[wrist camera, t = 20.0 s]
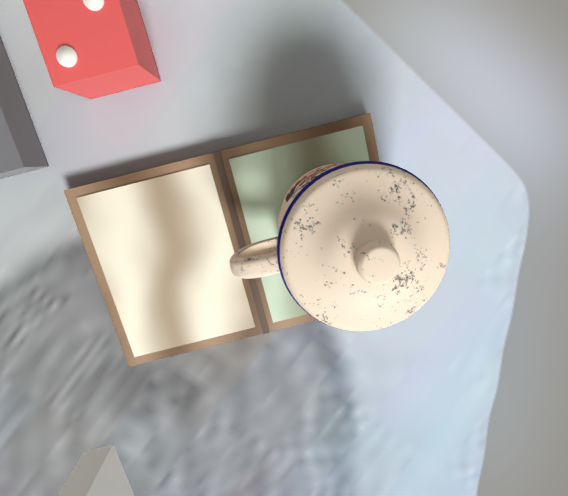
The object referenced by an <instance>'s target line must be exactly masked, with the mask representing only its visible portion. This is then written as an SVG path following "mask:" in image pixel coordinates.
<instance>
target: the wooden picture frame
mask: <svg viewBox="0 0 568 496" xmlns="http://www.w3.org/2000/svg"><path fill="white" fill-rule="evenodd" d="M357 161H377V162H379V157H378V152H377V146H376V141H375V136H374V130H373V125H372V120H371V114H370V113H368V114H364V115H360V116H356V117H352V118H348V119H344V120H340V121H336V122H332V123H328V124H324V125H320V126H316V127H312V128H308V129H304V130H301V131H297V132H293V133H289V134H285V135H281V136H277V137H273V138H269V139H265V140H261V141H257V142H253V143H249V144H245V145H241V146H237V147H233V148H229V149H226V150H222V151H217V152H213V153H210V154H206V155H202V156H198V157H194V158H190V159H186V160H182V161H178V162H174V163H170V164H166V165H162V166H158V167H154V168H151V169H147V170H143V171H139V172H135V173H131V174H127V175H123V176H119V177H115V178H111V179H107V180H103V181H99V182H95V183H91V184H87V185H83V186H79V187H75V188H72V189H68V190H64V193H65V195H66V198H67V201H68V203H69V206H70V209H71V211H72V214H73V217H74V220H75V222H76V225H77V228H78V230H79V233H80V236H81V238H82V241H83V244H84V247H85V249H86V252H87V255H88V257H89V260H90V263H91V265H92V268H93V271H94V273H95V276H96V279H97V282H98V284H99V287H100V290H101V292H102V295H103V298H104V300H105V303H106V306H107V309H108V311H109V314H110V317H111V319H112V322H113V325H114V327H115V330H116V333H117V336H118V338H119V341H120V344H121V346H122V349H123V352H124V354H125V357H126V360H127V363H128V365H129V367H130V366H134V365H138V364H142V363H146V362H150V361H154V360H158V359H162V358H166V357H170V356H174V355H178V354H182V353H186V352H190V351H194V350H198V349H202V348H206V347H210V346H214V345H218V344H222V343H227V342H231V341H235V340H239V339H243V338H247V337H251V336H255V335H259V334H265V333H269V332H271V331H275V330H279V329H283V328H287V327H291V326H295V325H299V324H303V323H307V322H311V321H315V320H317V319H315V318H314V317H312V316H311V315H309V314H308V313H307V312H305V311H304V310H303V309H302V308H301V307H300V306H299V305H298V304H297V303H296V302H295V300H294V299H293V298H292V296H291V295H290V293H289V292H288V290H287V288H286V286H285V284H284V282H283V280H282V277H281V274H280V273H277V274H273V275H269V276H265V277H260V278H251V279H244V278H238V277H236V276H234V275H233V273H232V271H231V268H230V258H231V257H232V255H233V254H234V253H235V252H237V251H238V250H240V249H242V248H243V247H245V246H248V245H250V244H253V243H255V242H258V241H262V240H265V239H269V238H273V237H277V236H278V231H277V219H278V213H279V209H280V205H281V203H282V200H283V198H284V196H285V195H286V193H287V191H288V190H289V188H290V187H291V186H292V185H293V184H294V183H295V182H296V181H297V180H298V179H299V178H300V177H301V176H303V175H304V174H306V173H307V172H309V171H311V170H313V169H315V168H317V167H320V166H324V165H328V164H346V163H351V162H357Z"/></svg>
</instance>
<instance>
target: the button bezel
mask: <svg viewBox="0 0 568 496" xmlns="http://www.w3.org/2000/svg"><path fill="white" fill-rule="evenodd" d="M44 167H48V163H47V160H46V158H45V155H44V152H43V150H42V147H41V144H40V142H39V139H38V136H37V134H36V131H35V128H34V126H33V123H32V120H31V118H30V115H29V112H28V110H27V107H26V104H25V102H24V99H23V96H22V94H21V91H20V88H19V85H18V83H17V80H16V77H15V75H14V72H13V69H12V67H11V64H10V61H9V59H8V56H7V53H6V51H5V48H4V45H3V43H2V40H1V37H0V179H1V178H5V177H9V176H13V175H17V174H21V173H25V172H29V171H32V170H36V169H40V168H44Z"/></svg>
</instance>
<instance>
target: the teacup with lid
mask: <svg viewBox="0 0 568 496" xmlns="http://www.w3.org/2000/svg"><path fill="white" fill-rule="evenodd" d="M277 231H278V236H277V237H273V238H269V239H265V240H262V241H258V242H255V243H253V244H250V245H248V246H245V247H243V248H242V249H240V250H238V251H237V252H235V253H234V254H233V255H232V257H231V258H230V268H231V271H232V273H233V275H234V276H236V277H238V278H244V279H251V278H260V277H265V276H269V275H273V274H277V273H280V274H281V277H282V280H283V282H284V284H285V286H286V288H287V290H288V292H289V293H290V295H291V296H292V298H293V299H294V300H295V302H296V303H297V304H298V305H299V306H300V307H301V308H302V309H303V310H304V311H305V312H307V313H308V314H309V315H311V316H312V317H314V318H315V319H317V320H319V321H321V322H323V323H325V324H328V325H330V326H333V327H336V328H339V329H344V330H350V331H370V330H377V329H381V328H385V327H388V326H391V325H394V324H396V323H398V322H400V321H402V320H404V319H406V318H407V317H409V316H411V315H412V314H413V313H415V312H416V311H417V310H418V309H420V308H421V307H422V306H423V305H424V304H425V303H426V302H427V301H428V300H429V298H430V297H431V296H432V295H433V293H434V292H435V290H436V289H437V287H438V285H439V283H440V282H441V280H442V277H443V275H444V273H445V270H446V266H447V263H448V258H449V251H450V235H449V228H448V223H447V220H446V217H445V214H444V212H443V209H442V207H441V205H440V203H439V201H438V199H437V198H436V196H435V195H434V194H433V192H432V191H431V190H430V189H429V187H428V186H427V185H426V184H425V183H424V182H422V181H421V180H420V179H419V178H418V177H416V176H415V175H413V174H412V173H410V172H408V171H407V170H405V169H402V168H400V167H398V166H395V165H392V164H388V163H384V162H377V161H357V162H351V163H346V164H328V165H324V166H320V167H317V168H315V169H313V170H311V171H309V172H307V173H306V174H304V175H303V176H301V177H300V178H299V179H298V180H297V181H296V182H295V183H294V184H293V185H292V186H291V187H290V188H289V190H288V191H287V193H286V195H285V196H284V198H283V200H282V203H281V205H280V209H279V213H278V219H277Z"/></svg>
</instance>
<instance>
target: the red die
mask: <svg viewBox="0 0 568 496" xmlns="http://www.w3.org/2000/svg"><path fill="white" fill-rule="evenodd" d="M23 2H24V5H25V7H26V10H27V13H28V16H29V19H30V21H31V24H32V27H33V30H34V33H35V36H36V38H37V41H38V44H39V47H40V50H41V52H42V55H43V58H44V61H45V64H46V67H47V69H48V72H49V75H50V78H51V81H52V83H53V86H54V87H56V88H59V89H62V90H65V91H68V92H71V93H74V94H77V95H80V96H83V97H86V98H89V99H93V98H97V97H101V96H105V95H109V94H113V93H117V92H121V91H125V90H129V89H132V88H136V87H140V86H144V85H148V84H152V83H156V82H160V81H161V80H160V76H159V73H158V70H157V66H156V63H155V60H154V56H153V53H152V49H151V46H150V43H149V39H148V36H147V33H146V29H145V26H144V22H143V19H142V16H141V12H140V9H139V6H138V3H137V1H136V0H23Z"/></svg>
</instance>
